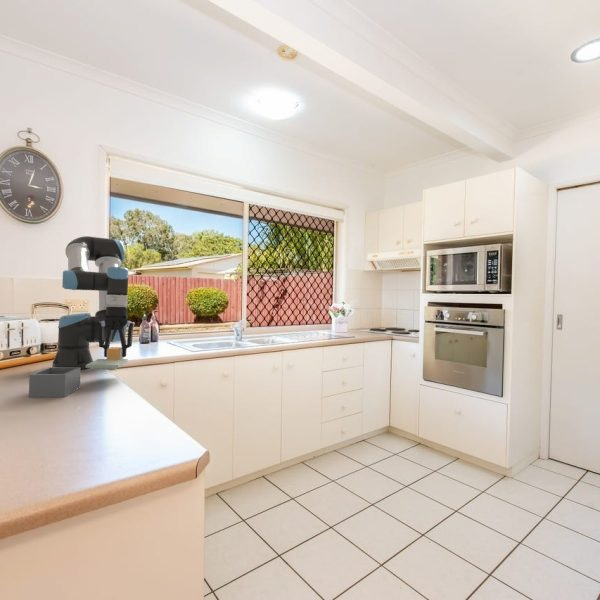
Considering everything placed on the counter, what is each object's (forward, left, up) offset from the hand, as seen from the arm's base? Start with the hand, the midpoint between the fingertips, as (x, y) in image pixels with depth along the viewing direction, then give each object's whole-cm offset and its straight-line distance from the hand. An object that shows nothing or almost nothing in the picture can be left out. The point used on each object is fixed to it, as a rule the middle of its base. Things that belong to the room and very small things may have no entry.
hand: (114, 365), depth 145 cm
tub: (+24, -11, -4) cm, 27 cm away
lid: (+6, 0, +1) cm, 7 cm away
